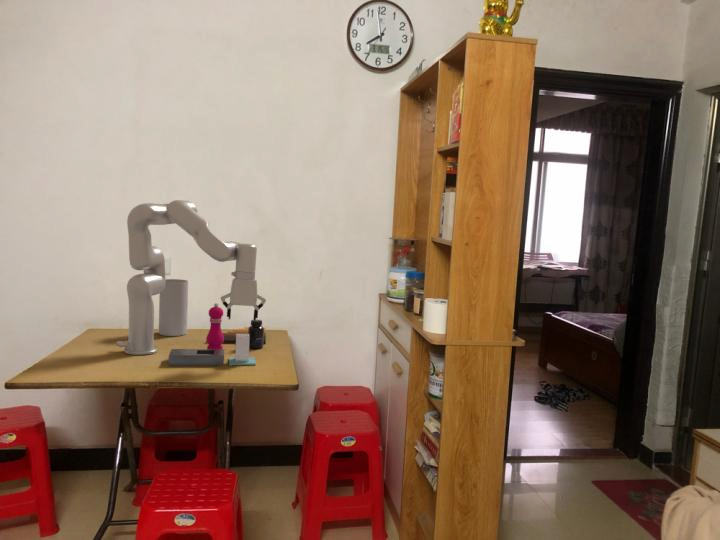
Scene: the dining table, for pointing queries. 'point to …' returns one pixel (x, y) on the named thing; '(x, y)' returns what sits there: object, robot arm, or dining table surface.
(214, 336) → the pepper mill
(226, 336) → the pan flute
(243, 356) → the steel peg
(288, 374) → the dining table surface
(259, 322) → the supplement bottle
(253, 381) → the dining table surface
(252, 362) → the teal mat
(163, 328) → the cylinder vase
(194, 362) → the rail
